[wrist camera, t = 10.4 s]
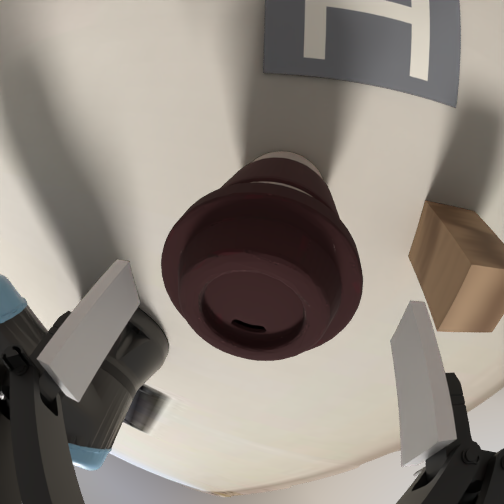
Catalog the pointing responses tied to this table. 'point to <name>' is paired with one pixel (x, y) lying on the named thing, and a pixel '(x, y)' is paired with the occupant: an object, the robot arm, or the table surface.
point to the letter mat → (368, 43)
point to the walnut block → (459, 268)
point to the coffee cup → (264, 262)
